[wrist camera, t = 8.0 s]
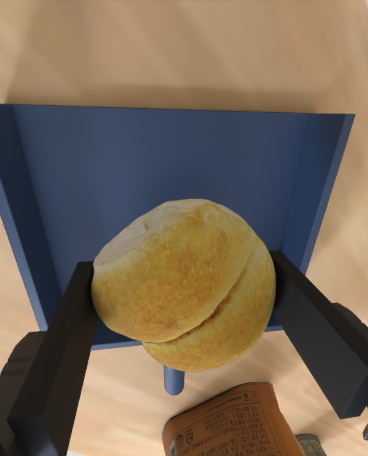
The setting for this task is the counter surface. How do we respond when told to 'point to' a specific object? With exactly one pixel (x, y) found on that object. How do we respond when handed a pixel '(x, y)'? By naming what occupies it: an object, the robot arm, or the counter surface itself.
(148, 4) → the counter surface
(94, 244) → the scoop
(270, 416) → the pancake mix bag
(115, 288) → the bread roll
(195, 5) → the counter surface
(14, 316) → the counter surface
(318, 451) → the thermos
